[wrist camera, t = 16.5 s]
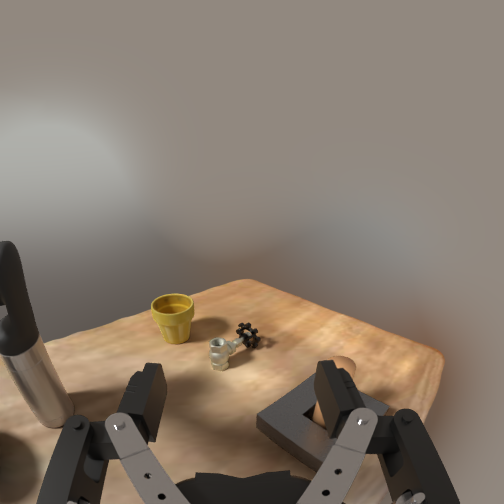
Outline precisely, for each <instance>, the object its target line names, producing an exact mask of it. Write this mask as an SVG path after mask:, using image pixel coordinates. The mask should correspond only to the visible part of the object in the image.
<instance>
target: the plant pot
mask: <svg viewBox="0 0 504 504" xmlns="http://www.w3.org/2000/svg"><path fill="white" fill-rule="evenodd" d="M151 311H152V316H153V319H154V321H155V322H156V323H157V324H158V326H159V328H160V331H161V333H162V335H163V338H164V340H165V341H166V342H168V343H170V344H181V343H183V342H185V341H187V340H188V339H189V336H190V327H191V320H192V318H193V317H194V302H193V300H192V299H191V298H190V297H189V296H186V295H183V294H167V295H163V296H160V297H158V298H156V299H155V300H154V301H153V302H152V304H151Z"/></svg>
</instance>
